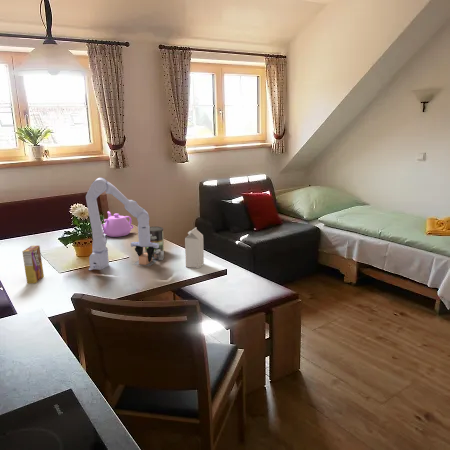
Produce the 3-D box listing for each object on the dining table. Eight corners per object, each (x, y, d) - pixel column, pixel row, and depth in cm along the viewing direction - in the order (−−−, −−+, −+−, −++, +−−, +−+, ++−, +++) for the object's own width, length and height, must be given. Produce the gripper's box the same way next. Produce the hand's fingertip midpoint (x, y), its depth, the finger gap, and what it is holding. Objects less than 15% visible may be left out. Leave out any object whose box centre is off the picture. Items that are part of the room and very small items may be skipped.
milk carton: (203, 264, 213) (203, 227, 208) (199, 268, 206) (198, 230, 201) (190, 262, 214) (189, 226, 210) (185, 267, 208) (184, 230, 203)
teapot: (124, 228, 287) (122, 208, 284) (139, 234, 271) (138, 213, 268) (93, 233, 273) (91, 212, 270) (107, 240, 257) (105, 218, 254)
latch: (159, 262, 213) (158, 252, 211) (151, 261, 214) (151, 251, 212) (163, 258, 218) (163, 248, 217) (156, 257, 219) (156, 248, 218)
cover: (146, 264, 209) (145, 257, 208) (139, 264, 210) (138, 256, 209) (152, 260, 215) (151, 252, 214) (145, 259, 216) (144, 252, 215)
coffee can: (159, 257, 224) (158, 231, 221) (141, 255, 227) (140, 230, 224) (167, 251, 234) (166, 227, 230) (150, 250, 237) (149, 225, 233)
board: (149, 268, 207) (149, 265, 206) (132, 266, 209) (132, 263, 209) (162, 258, 221) (161, 256, 221) (145, 257, 223) (145, 254, 223)
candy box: (34, 276, 196) (31, 245, 192) (44, 276, 196) (40, 245, 192) (26, 283, 187) (21, 250, 184) (35, 283, 187) (31, 250, 184)
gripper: (160, 233, 211) (162, 259, 214) (134, 232, 215) (136, 257, 218) (154, 237, 204) (156, 263, 208) (128, 235, 208) (129, 261, 211)
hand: (145, 260), depth 212 cm, fingers closed on cover, 4 cm apart
